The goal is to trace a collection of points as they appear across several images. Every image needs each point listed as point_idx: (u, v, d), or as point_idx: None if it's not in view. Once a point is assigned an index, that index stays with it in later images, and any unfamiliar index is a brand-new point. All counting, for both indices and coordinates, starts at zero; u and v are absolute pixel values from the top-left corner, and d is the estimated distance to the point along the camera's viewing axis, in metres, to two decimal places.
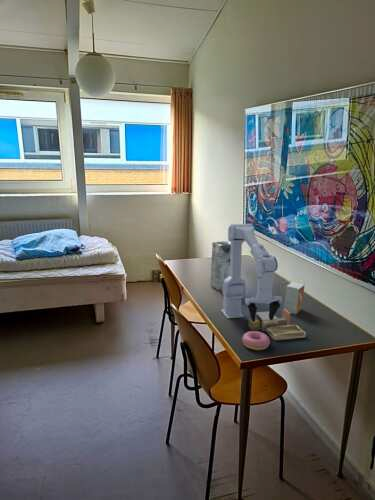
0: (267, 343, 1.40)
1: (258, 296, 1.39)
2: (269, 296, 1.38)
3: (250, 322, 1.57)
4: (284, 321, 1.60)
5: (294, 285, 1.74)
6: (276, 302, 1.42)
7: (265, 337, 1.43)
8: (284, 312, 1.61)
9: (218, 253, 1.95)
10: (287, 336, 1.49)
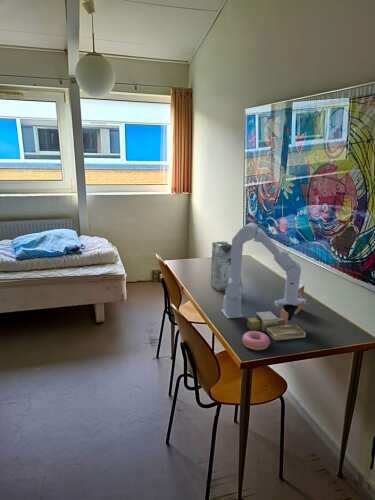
0: (267, 343, 1.40)
1: (286, 298, 1.58)
2: (296, 298, 1.57)
3: (249, 322, 1.57)
4: (282, 321, 1.60)
5: None
6: (294, 304, 1.60)
7: (265, 337, 1.43)
8: (282, 312, 1.61)
9: (218, 253, 1.95)
10: (287, 336, 1.49)
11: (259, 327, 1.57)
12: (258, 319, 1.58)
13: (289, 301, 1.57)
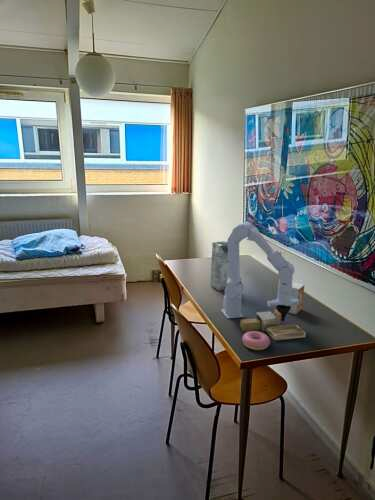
0: (267, 343, 1.41)
1: (279, 299, 1.57)
2: (288, 299, 1.56)
3: (242, 323, 1.56)
4: None
5: (294, 285, 1.74)
6: None
7: (265, 337, 1.43)
8: (275, 313, 1.60)
9: (218, 253, 1.95)
10: (287, 336, 1.49)
11: (252, 328, 1.56)
12: (251, 320, 1.57)
13: (282, 302, 1.56)
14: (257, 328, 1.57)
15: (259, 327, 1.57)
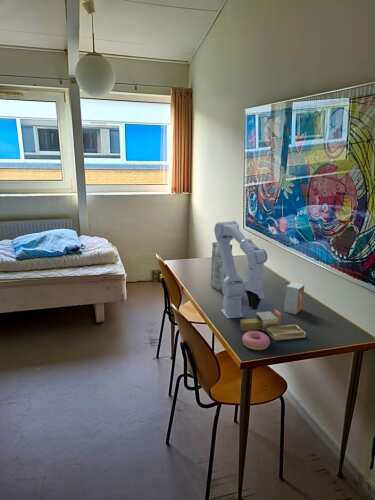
0: (267, 343, 1.41)
1: None
2: (250, 285, 1.52)
3: (242, 323, 1.56)
4: None
5: (294, 285, 1.74)
6: (255, 294, 1.51)
7: (265, 337, 1.43)
8: (275, 313, 1.60)
9: (218, 253, 1.95)
10: (287, 336, 1.49)
11: (252, 328, 1.56)
12: (251, 320, 1.57)
13: None
14: (257, 328, 1.56)
15: (259, 327, 1.57)
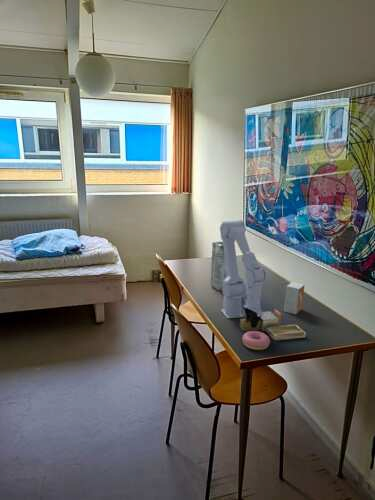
0: (267, 343, 1.41)
1: None
2: (248, 302, 1.54)
3: (241, 322, 1.56)
4: None
5: (294, 285, 1.74)
6: (254, 312, 1.52)
7: (265, 337, 1.43)
8: (275, 313, 1.60)
9: (218, 253, 1.95)
10: (287, 336, 1.49)
11: (252, 328, 1.56)
12: None
13: (246, 302, 1.57)
14: (257, 327, 1.57)
15: (259, 326, 1.57)
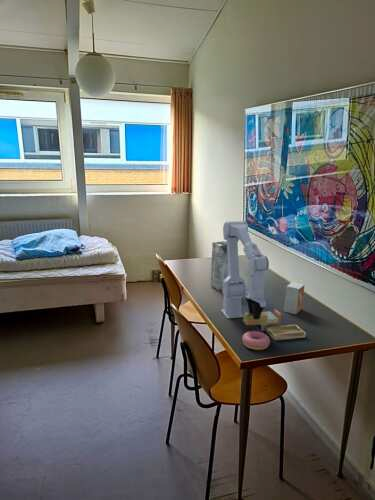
0: (267, 343, 1.41)
1: None
2: (251, 293, 1.45)
3: (245, 316, 1.48)
4: None
5: (294, 285, 1.74)
6: (257, 303, 1.44)
7: (265, 337, 1.43)
8: (275, 313, 1.60)
9: (218, 253, 1.95)
10: (287, 336, 1.49)
11: (256, 322, 1.48)
12: None
13: (249, 293, 1.48)
14: (261, 322, 1.49)
15: (263, 321, 1.49)
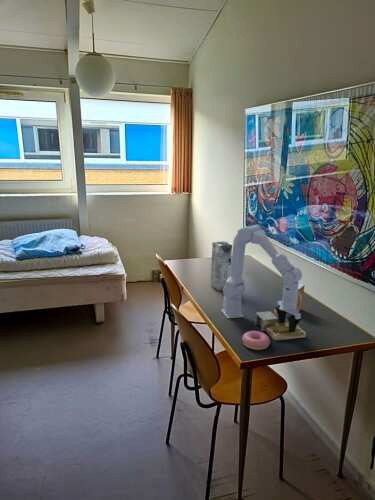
0: (267, 343, 1.41)
1: None
2: (284, 304, 1.48)
3: (277, 327, 1.51)
4: None
5: None
6: (293, 316, 1.46)
7: (265, 337, 1.43)
8: (275, 313, 1.60)
9: (218, 253, 1.95)
10: (287, 336, 1.49)
11: None
12: (286, 324, 1.52)
13: (281, 304, 1.51)
14: None
15: (294, 331, 1.52)
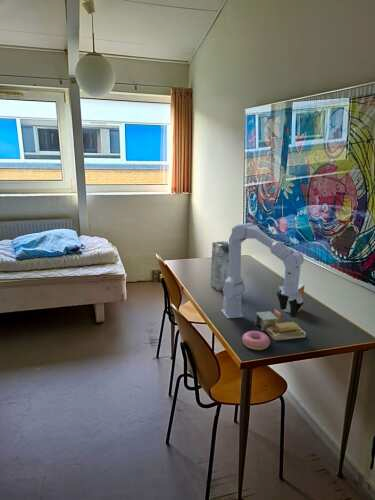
0: (267, 343, 1.41)
1: None
2: (286, 289, 1.46)
3: (277, 327, 1.51)
4: None
5: None
6: (295, 301, 1.44)
7: (265, 337, 1.43)
8: (275, 313, 1.60)
9: (218, 253, 1.95)
10: (287, 336, 1.49)
11: None
12: (286, 324, 1.52)
13: (283, 289, 1.49)
14: None
15: (294, 331, 1.52)
